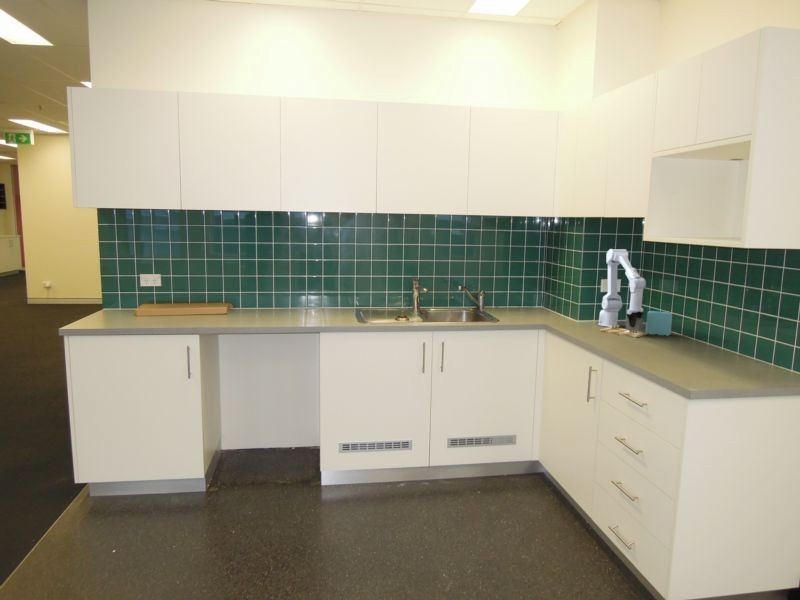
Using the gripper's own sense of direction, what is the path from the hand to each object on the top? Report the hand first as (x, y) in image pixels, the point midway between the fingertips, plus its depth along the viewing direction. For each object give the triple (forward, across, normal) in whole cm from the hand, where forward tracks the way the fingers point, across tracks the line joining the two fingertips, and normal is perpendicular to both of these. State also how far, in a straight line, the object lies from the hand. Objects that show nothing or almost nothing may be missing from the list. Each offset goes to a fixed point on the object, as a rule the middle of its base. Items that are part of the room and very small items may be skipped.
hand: (633, 326), depth 290 cm
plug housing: (+2, 0, 0) cm, 2 cm away
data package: (+5, +12, -8) cm, 15 cm away
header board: (+4, -1, +5) cm, 7 cm away
